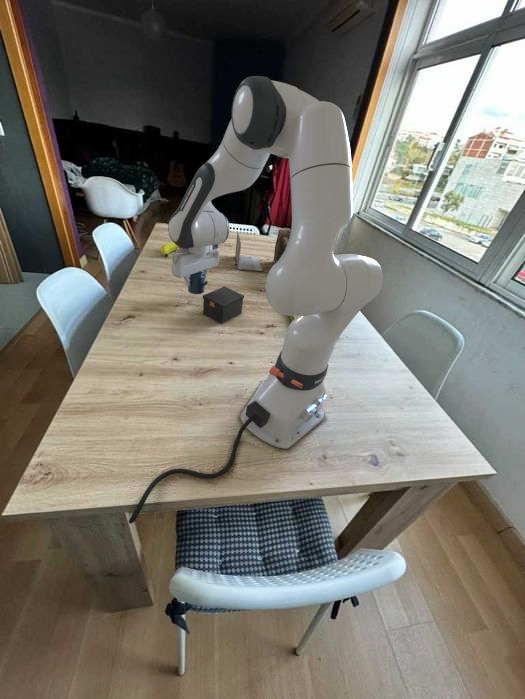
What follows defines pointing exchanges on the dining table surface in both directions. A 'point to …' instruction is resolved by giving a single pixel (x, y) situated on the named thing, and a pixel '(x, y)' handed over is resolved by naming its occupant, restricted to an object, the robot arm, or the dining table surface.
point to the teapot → (197, 283)
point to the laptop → (246, 259)
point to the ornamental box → (281, 243)
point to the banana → (169, 248)
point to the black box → (222, 304)
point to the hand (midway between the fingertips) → (196, 282)
